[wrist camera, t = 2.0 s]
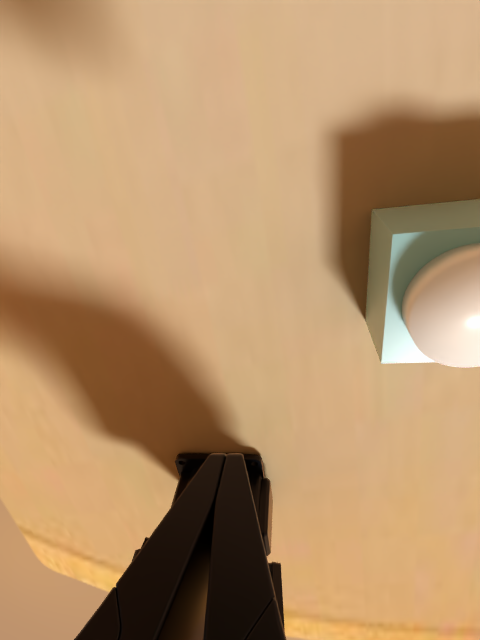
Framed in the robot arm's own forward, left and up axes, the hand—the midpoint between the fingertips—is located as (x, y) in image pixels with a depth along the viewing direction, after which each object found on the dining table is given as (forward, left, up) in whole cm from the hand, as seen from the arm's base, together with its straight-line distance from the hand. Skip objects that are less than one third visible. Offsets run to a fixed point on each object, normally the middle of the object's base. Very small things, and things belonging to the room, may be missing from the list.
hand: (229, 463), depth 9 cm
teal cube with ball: (+9, 0, -12) cm, 14 cm away
